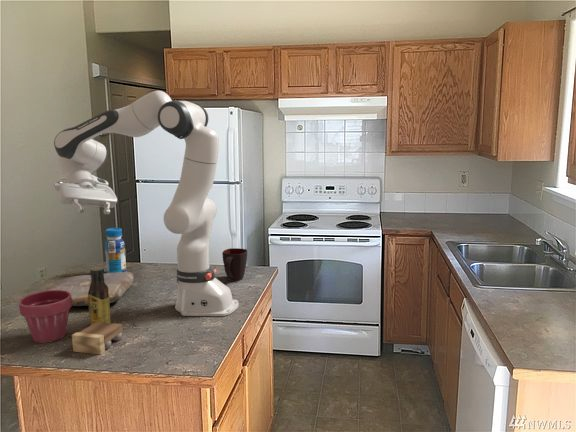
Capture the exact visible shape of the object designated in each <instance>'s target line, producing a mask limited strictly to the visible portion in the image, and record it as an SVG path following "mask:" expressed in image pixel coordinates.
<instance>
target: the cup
mask: <svg viewBox="0 0 576 432" xmlns="http://www.w3.org/2000/svg"><path fill="white" fill-rule="evenodd" d="M221 254H222V262H223V267H224V273H225V275H226V278H227V280H228V281H233V282H234V281H235V282H239V281H241V280H243V279H244V276H245V271H246V268H247V267H246V266H247V261H248V249H247V248H246V249H245V248H238V247H237V248H236V247H234V248H226V249H224V250H223V251H222V253H221Z"/></svg>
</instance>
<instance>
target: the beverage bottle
mask: <svg viewBox="0 0 576 432" xmlns="http://www.w3.org/2000/svg"><path fill="white" fill-rule="evenodd" d="M105 237H106V238H107V239H106V240H105V242H104V247H105V249H104V253H105V263H106V264H105V265H106V273H116V272H127V263H126V262H127V261H126V248H125V244H126V243H125V241H124V239H123V238H122V237H123V229H122V228H120V227H110V228H106V229H105Z"/></svg>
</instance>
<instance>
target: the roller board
mask: <svg viewBox="0 0 576 432" xmlns="http://www.w3.org/2000/svg"><path fill="white" fill-rule="evenodd" d="M122 332H124V331H123V324H122V323H111V322H110V323H103V322H95V323H94V324H92V325H90V324H89V326H88V327H87V326H86V328H84V329H82V330H81V331H79V332H77V331H75V332H73V334H71V340H72V341H71V343H72V351H73V352H74V353H75V352H77V353H85V354H93V355H94V354H95V355H103V353H105V352H106V350H107V349H108V350H109V349H111V346H112V341H117V342H118V341H119V342H120V341H121V340H122V337H123V333H122Z"/></svg>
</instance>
